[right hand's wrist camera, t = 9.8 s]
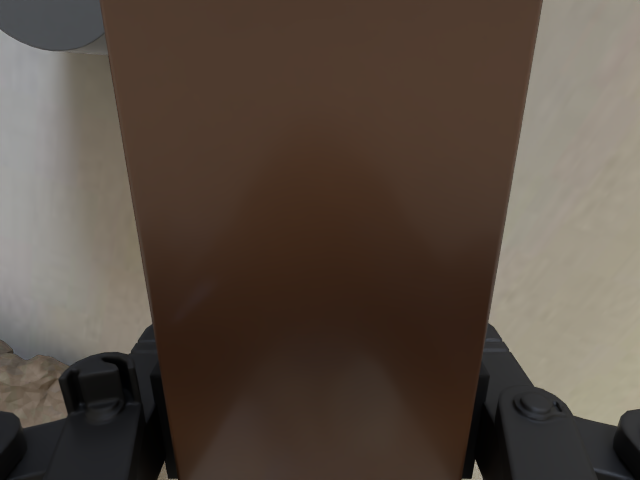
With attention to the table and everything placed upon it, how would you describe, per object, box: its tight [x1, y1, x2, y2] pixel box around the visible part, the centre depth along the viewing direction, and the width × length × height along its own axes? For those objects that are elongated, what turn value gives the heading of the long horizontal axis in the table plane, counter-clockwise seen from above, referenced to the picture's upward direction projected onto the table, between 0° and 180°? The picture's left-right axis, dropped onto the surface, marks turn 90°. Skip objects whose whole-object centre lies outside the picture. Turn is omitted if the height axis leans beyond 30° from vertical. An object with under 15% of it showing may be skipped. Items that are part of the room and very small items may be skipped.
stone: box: [0, 340, 70, 428], centre depth 32 cm, size 21×15×6 cm
